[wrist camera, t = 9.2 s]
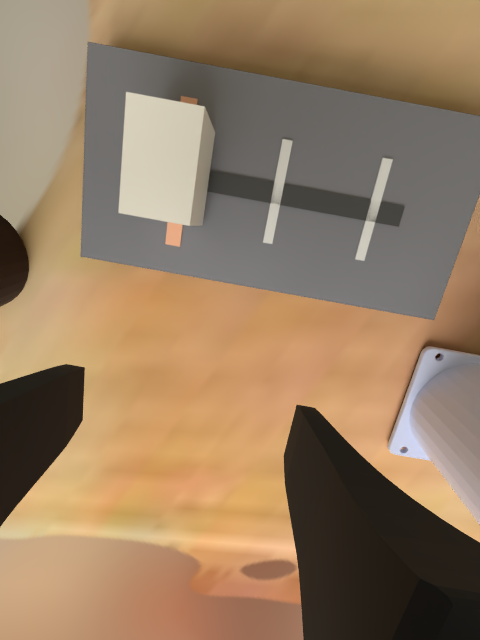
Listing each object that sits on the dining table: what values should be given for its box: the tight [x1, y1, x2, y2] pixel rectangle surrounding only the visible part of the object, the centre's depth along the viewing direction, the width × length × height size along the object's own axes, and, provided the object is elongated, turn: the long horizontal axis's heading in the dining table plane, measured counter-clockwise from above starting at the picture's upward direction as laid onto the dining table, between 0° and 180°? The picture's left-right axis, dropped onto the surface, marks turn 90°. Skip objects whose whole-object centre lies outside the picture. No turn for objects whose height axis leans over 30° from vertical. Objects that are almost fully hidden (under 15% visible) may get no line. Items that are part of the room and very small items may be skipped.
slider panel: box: [81, 42, 480, 320], centre depth 18 cm, size 20×10×2 cm, turn 80°
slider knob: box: [118, 92, 215, 226], centre depth 15 cm, size 3×4×4 cm
